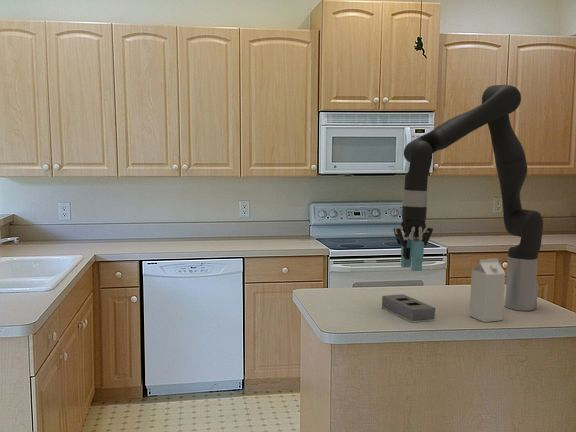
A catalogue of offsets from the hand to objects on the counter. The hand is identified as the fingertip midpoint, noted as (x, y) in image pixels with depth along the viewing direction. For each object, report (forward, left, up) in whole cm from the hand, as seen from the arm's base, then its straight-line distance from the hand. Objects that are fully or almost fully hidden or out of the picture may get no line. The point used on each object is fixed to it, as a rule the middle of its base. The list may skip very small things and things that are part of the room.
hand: (411, 258), depth 181 cm
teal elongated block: (0, 0, -3) cm, 3 cm away
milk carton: (-20, +12, -18) cm, 30 cm away
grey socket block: (+1, 0, -18) cm, 18 cm away
